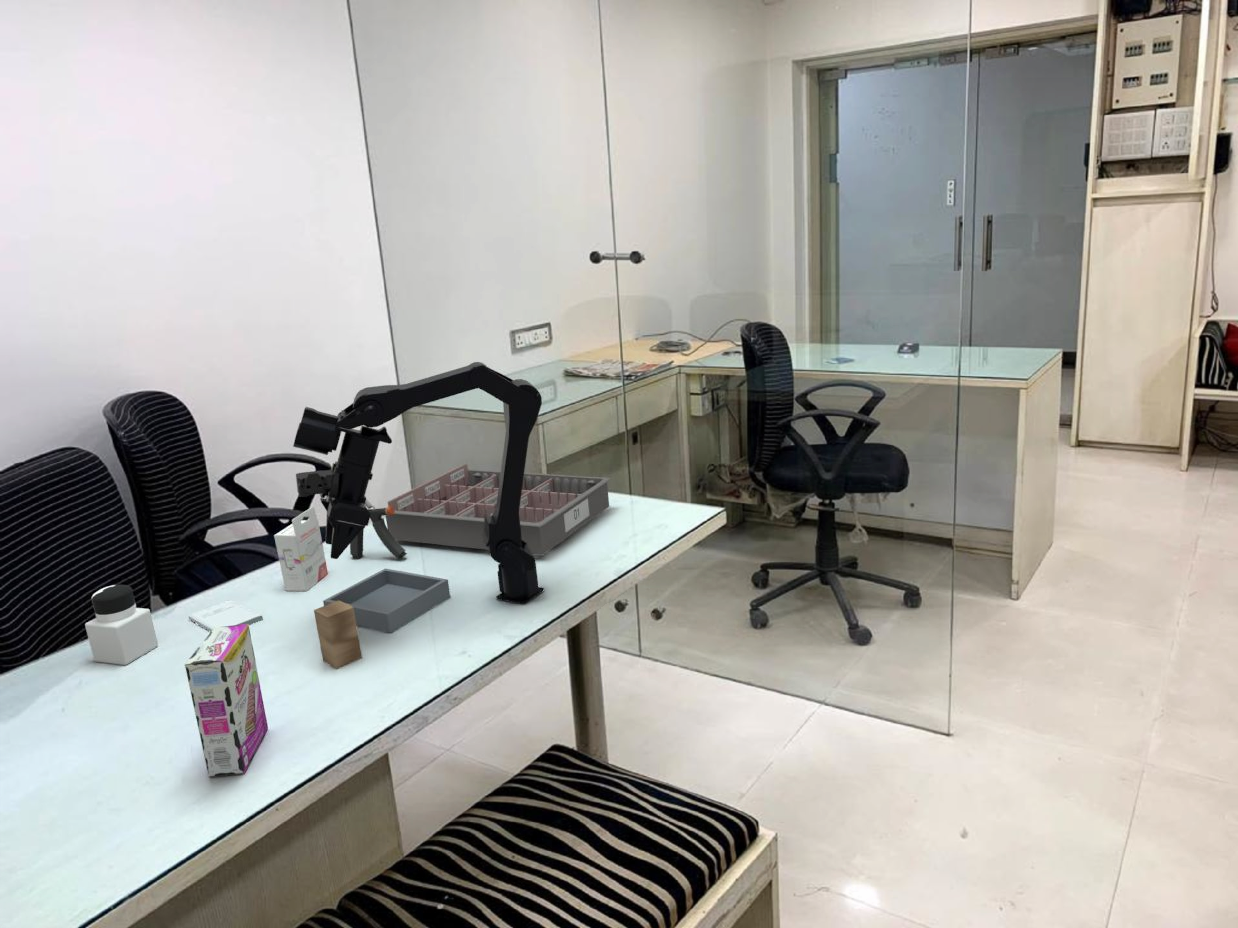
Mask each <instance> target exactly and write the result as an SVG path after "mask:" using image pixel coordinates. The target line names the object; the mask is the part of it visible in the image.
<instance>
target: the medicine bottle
mask: <svg viewBox="0 0 1238 928" xmlns="http://www.w3.org/2000/svg"><path fill="white" fill-rule="evenodd" d="M91 602H92V607H93V610H94V613H95V618H93V619H92V620H91V619H90V620H89V621H88V622H85V624H84V626H85V630H86V634H87V639H88V641H89V646H90V651H91V654H92V657H93V660H94V661H95V662H98V663H105V664H112V665H122V666H127V665H129V664H130V663H132V662H134V661H135V660H137V659H138V658H140V657H143V655H145V654H148V653H149V652H151V651H152V650H153V649H156V648H158V646H159V643H158V639H157V635H156V631H155V626H154V623H153V618H152V614H151V610H150V609H149V608H142V607H137V604H136V599H135V597H134V592H133V588H132V587H131V586H130V585H127V584H112V585H109V586H105V587H103V588H100V589H99V590H97V591H96V592H94V593H93V594H92V596H91Z"/></svg>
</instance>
